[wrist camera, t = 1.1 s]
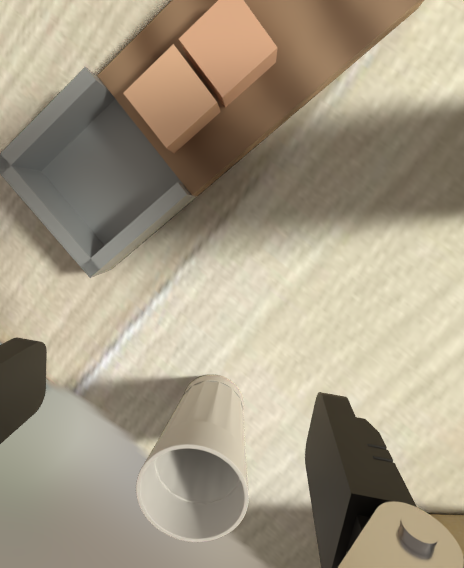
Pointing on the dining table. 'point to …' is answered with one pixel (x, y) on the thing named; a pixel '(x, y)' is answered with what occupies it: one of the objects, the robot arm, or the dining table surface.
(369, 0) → the board
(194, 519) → the cup
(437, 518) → the flower pot
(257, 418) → the dining table surface
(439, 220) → the dining table surface
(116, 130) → the tray
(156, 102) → the tile
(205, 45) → the tile
